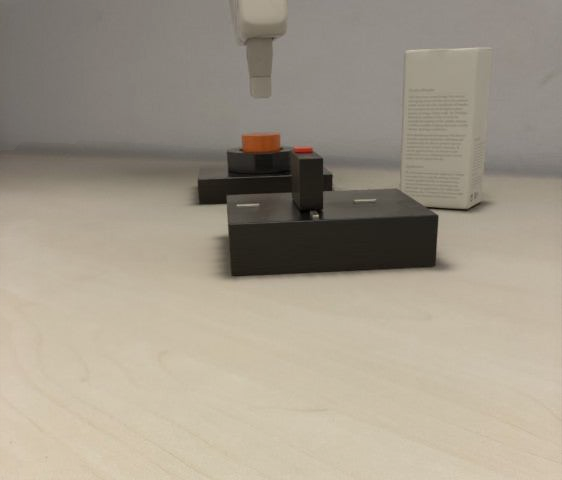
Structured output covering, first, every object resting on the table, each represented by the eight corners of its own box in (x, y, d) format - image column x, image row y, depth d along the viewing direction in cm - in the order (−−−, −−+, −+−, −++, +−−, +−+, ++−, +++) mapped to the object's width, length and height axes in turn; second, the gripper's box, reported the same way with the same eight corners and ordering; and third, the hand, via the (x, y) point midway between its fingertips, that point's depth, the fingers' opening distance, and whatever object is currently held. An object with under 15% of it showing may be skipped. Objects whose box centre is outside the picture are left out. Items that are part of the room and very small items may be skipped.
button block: (199, 204, 63) (196, 157, 61) (201, 187, 72) (198, 146, 70) (332, 198, 63) (332, 152, 62) (317, 182, 73) (317, 142, 71)
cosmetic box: (482, 202, 60) (496, 47, 55) (467, 211, 56) (480, 46, 52) (414, 198, 63) (422, 50, 58) (396, 205, 59) (402, 49, 55)
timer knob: (323, 209, 42) (323, 153, 41) (300, 211, 42) (299, 154, 41) (313, 197, 46) (312, 146, 45) (291, 198, 46) (290, 146, 45)
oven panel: (231, 275, 40) (228, 220, 39) (228, 238, 50) (226, 192, 48) (435, 266, 41) (439, 212, 40) (396, 231, 50) (397, 185, 49)
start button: (243, 156, 64) (242, 136, 64) (241, 152, 68) (241, 133, 67) (282, 155, 65) (281, 134, 64) (279, 150, 68) (278, 131, 67)
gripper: (305, -112, 49) (308, 100, 55) (282, -60, 68) (286, 94, 73) (214, -111, 49) (226, 103, 54) (216, -59, 67) (225, 96, 73)
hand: (260, 98), depth 64 cm, fingers closed
